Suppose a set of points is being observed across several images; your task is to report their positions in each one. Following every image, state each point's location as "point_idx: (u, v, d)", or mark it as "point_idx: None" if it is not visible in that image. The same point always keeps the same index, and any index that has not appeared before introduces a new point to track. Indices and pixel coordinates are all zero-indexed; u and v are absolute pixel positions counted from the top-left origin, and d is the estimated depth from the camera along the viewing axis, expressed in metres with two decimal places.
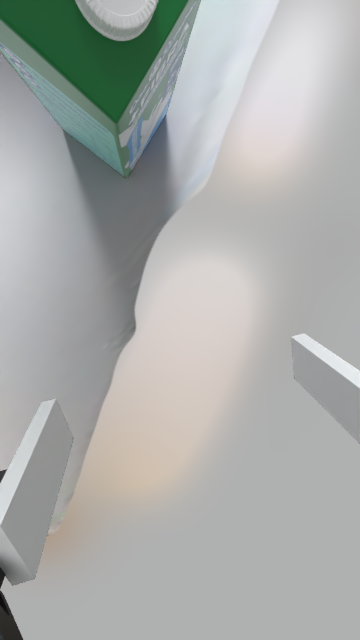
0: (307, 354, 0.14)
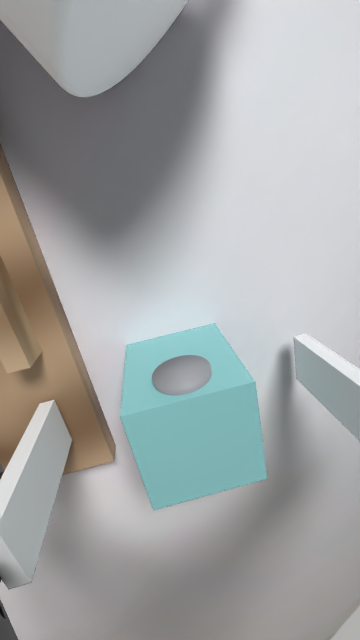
0: (309, 355, 0.14)
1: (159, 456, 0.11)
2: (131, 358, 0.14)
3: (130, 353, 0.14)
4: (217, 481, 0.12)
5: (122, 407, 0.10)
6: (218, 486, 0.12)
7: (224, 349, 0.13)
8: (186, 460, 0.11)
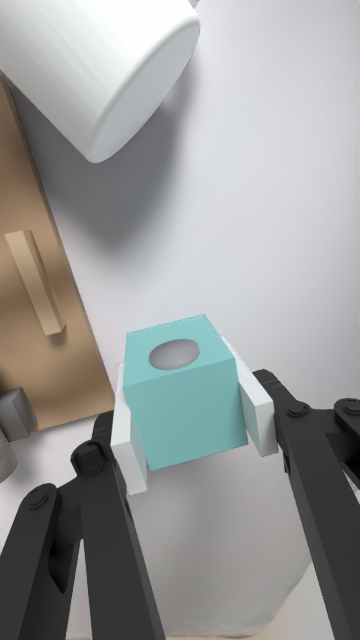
0: None
1: (155, 422, 0.13)
2: (130, 344, 0.16)
3: (130, 340, 0.16)
4: (205, 445, 0.14)
5: (124, 380, 0.12)
6: (206, 450, 0.14)
7: (211, 334, 0.15)
8: (178, 426, 0.13)
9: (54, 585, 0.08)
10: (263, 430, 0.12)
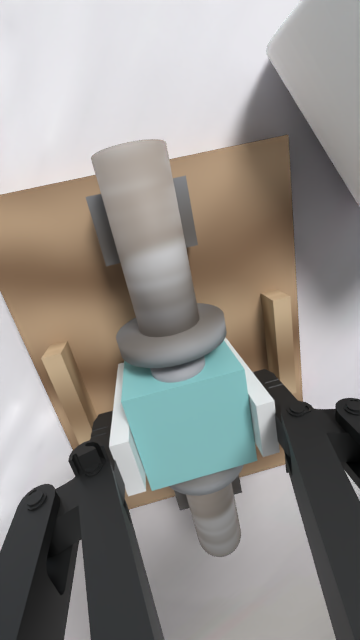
0: None
1: (157, 440, 0.12)
2: None
3: None
4: (211, 463, 0.13)
5: (123, 393, 0.11)
6: (212, 468, 0.13)
7: None
8: (182, 443, 0.12)
9: (52, 586, 0.08)
10: (264, 430, 0.11)
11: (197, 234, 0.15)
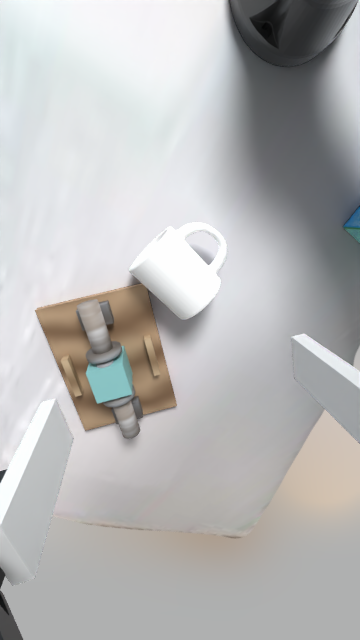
0: (306, 354, 0.14)
1: (97, 385, 0.39)
2: None
3: None
4: (116, 394, 0.40)
5: (86, 371, 0.38)
6: (116, 396, 0.40)
7: (120, 355, 0.41)
8: (105, 387, 0.39)
9: None
10: None
11: (116, 316, 0.42)
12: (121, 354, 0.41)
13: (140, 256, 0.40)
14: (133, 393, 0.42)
